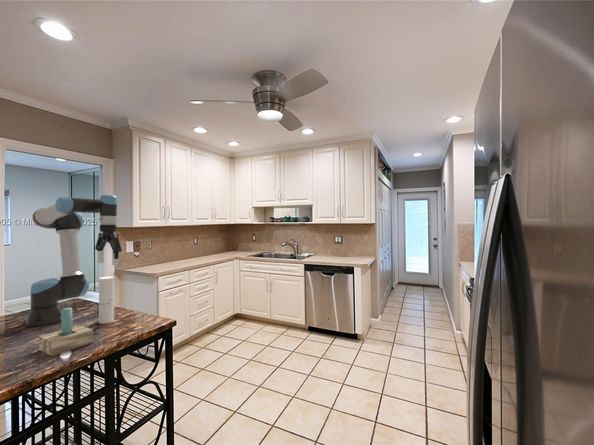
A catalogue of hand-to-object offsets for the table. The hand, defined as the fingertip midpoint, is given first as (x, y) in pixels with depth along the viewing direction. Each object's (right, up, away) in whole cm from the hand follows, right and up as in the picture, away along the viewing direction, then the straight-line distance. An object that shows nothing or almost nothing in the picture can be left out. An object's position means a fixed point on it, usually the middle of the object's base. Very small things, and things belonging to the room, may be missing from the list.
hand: (107, 264), depth 155 cm
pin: (-5, -32, -21) cm, 38 cm away
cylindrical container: (-8, -35, +11) cm, 37 cm away
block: (-5, -35, -21) cm, 41 cm away
